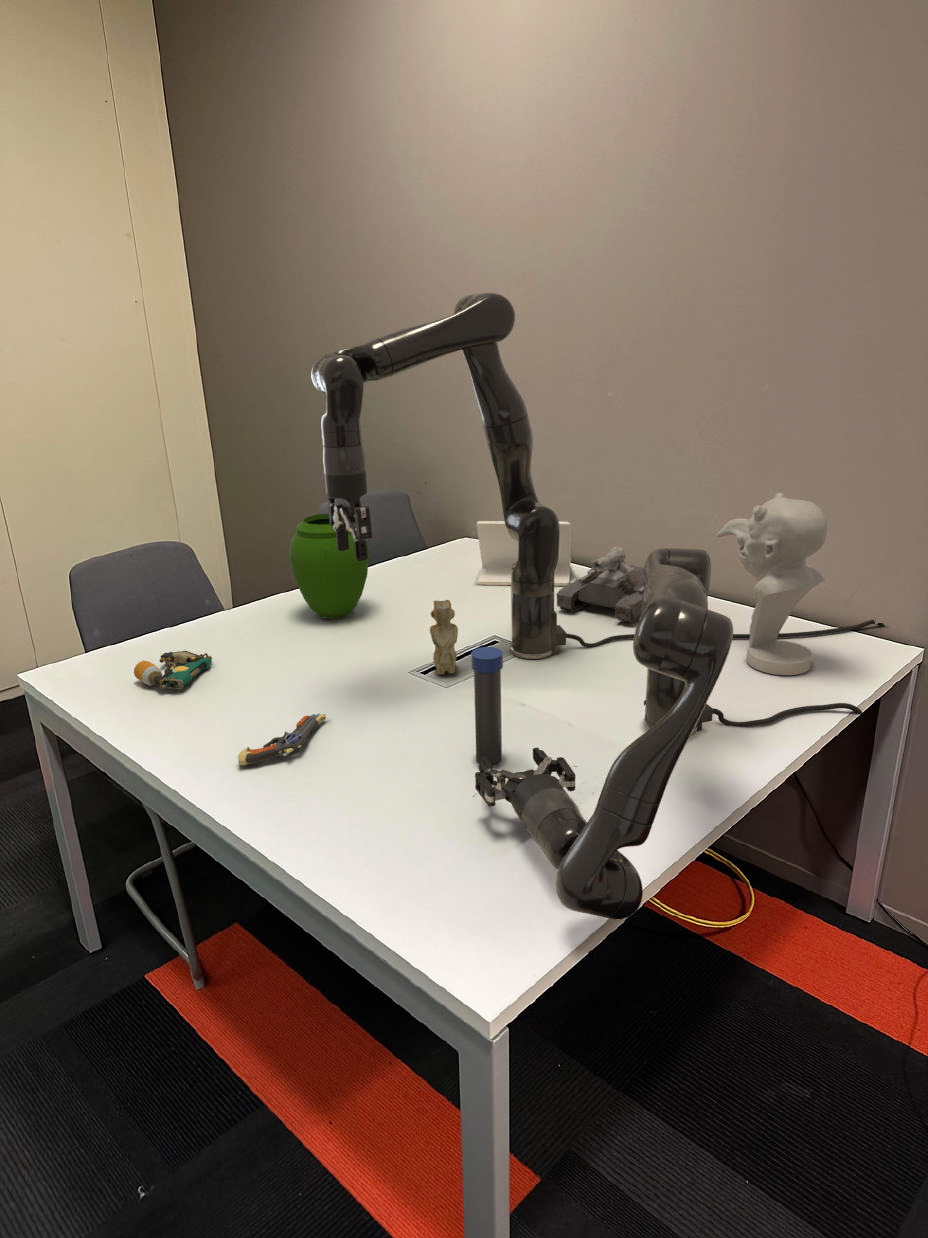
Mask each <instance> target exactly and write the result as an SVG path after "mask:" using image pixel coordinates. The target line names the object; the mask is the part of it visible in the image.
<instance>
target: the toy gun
mask: <svg viewBox="0 0 928 1238" xmlns="http://www.w3.org/2000/svg"><path fill="white" fill-rule="evenodd" d="M326 719H327V714H325V713H317V714H315V713H312V714H311V715H304V716H302V718H301V719H300V720H298V722H297V723H296V724H295V725H296V726H295V727H296V728H295V729H294V730H293V731H292V732H287V731H284V733H283V735H282V736H277V737H273V738H272V739H271V740H269V741H268V742H266V743H265V744H264V745H263V746H262V747H260V748H255V749H253V748H252V749H251V747H250V746H247V747H245V748H244V749H242V750H241V751H240V752H239V753H238V755H237V760H238V764H239V766H246V765H250V764H254V763H258V762H262V761H265V760H268V759H271V758H275V757H279V756H282V755H284V754H286V755H288V754H290V753H292V752H294V751H295V750H296V749H300V748H301V747H302V746H303V744H304V743H305V742H306V741H307V740H308V738H309V736H310V734H311V733H312V732H313V731H314V730H315V729H316V728H317V727H318V726H319V725H320V724H321V723H322V722H324V721H326Z"/></svg>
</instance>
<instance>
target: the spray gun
mask: <svg viewBox="0 0 928 1238" xmlns="http://www.w3.org/2000/svg"><path fill="white" fill-rule="evenodd" d="M212 660H213V657H212V656H211V655H208V653H207V652H205V653H201V654H197V653H194V652H192V651H191V652H190V651H188V650H180V651H169V652H164V653H162V654H161V655H160V658H159V660H158V662H159V663H161V664H163V663H165V664H166V668H165V670H163V672H164V674H163V673H162V669H160V668H159V666H157V665H156V664H154V663H152V662H151V661H149V660H141V661H139V662H138V663H136V665H135V666H134V668H133V675H134V677H135V678H136V679H137V680H139V681H140V682H142V683H143V684H145V685H147V686H155V685H157V686H158V687H160V688H161V689H171V690H172V689H173V690H182V689H184V687H185V686H186V685H188V684H189V683H190V682H191V681H192V679H193V678H195V677H196V676H197V675H198V674H200V673H201V672H202V671H203V670H206V669H208V668H209V667H210V666H211V665H212V662H213V661H212ZM178 663H179V664H181V665H179V666H176V665H177V664H178Z"/></svg>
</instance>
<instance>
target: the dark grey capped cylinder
mask: <svg viewBox="0 0 928 1238" xmlns="http://www.w3.org/2000/svg"><path fill="white" fill-rule="evenodd" d="M501 672H502V669H501V670H499V671H497V672H493V673H480V672H476V671H474V670H473V683H474V684H473V686H474V687H473V689H474V724H475V725H474V726H475V727H474V728H475V729H474V730H475V756H476V757H475V761H476V763H477V764H478V765H479V761H481V757H487V759H488V760H489V762H490V763H491V765H492V766H493V767H495V766H499V765H500V764H501V763H502V761H503V745H502V742H503V741H502V739H503V738H502V732H503V731H502V677H501V676H502V675H501V674H502V673H501Z"/></svg>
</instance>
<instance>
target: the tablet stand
mask: <svg viewBox="0 0 928 1238" xmlns="http://www.w3.org/2000/svg"><path fill="white" fill-rule="evenodd" d="M559 528H560V537H559V556H558V563H557V566H556V568H555V572H554V587H556V586H557V587H566V586H567V585H569V584H570V580H571V579H570V578H571V565H572V564H571V560H572V558H571V522H569V521H559ZM476 531H477V537H478V544H479V551H480V557H481V558H480V559H481V570H480V573H479V575H478V577H477V580H476V581H477V582H476V584H478V585H484V586H485V585H486V586H487V585H489V586H490V585H491V586H511V566H512V564H513V563H514V562H516V561H518V547H519V542H517V541H516V540H514V539H513V538H512V537H511V536H510V535H509V533H508V531H507V529H506V526H505V521H504V520H477V522H476Z"/></svg>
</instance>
